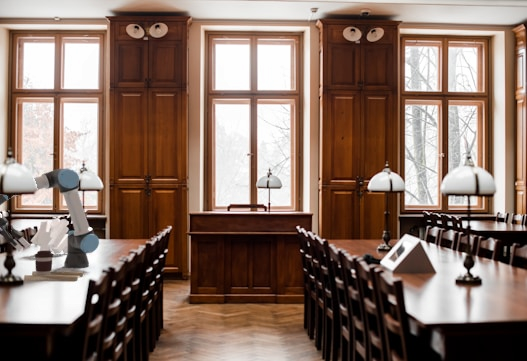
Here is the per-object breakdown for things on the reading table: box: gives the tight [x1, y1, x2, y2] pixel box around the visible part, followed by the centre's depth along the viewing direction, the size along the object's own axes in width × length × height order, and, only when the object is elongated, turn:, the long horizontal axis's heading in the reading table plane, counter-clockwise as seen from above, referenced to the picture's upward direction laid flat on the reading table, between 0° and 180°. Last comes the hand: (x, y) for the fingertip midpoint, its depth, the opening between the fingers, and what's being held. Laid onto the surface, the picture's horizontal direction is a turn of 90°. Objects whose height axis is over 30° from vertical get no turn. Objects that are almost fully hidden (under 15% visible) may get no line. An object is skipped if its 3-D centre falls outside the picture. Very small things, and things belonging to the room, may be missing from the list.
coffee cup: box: [34, 250, 55, 275], centre depth 319 cm, size 10×10×15 cm
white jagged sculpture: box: [30, 218, 70, 255], centre depth 417 cm, size 35×30×35 cm
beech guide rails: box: [23, 270, 84, 282], centre depth 319 cm, size 16×28×2 cm, turn 96°
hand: (24, 248), depth 317 cm, fingers open, 13 cm apart
